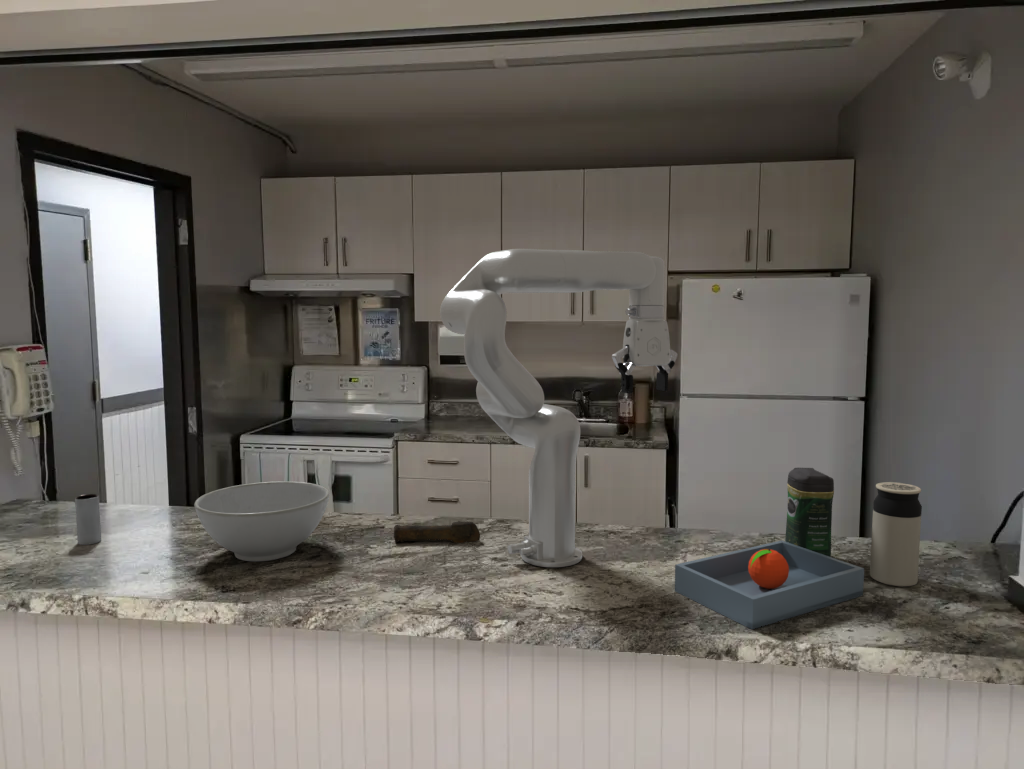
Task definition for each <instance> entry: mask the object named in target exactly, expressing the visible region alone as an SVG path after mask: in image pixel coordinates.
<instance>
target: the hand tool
mask: <svg viewBox="0 0 1024 769" xmlns="http://www.w3.org/2000/svg"><path fill="white" fill-rule="evenodd" d="M393 540H394V543H396V544H397V543H398V542H400V543H404V542H411V541H413V542H415V541H417V542H418V541H422V542H423V541H425V542H426V541H450V542H452V543H453V544H462V543H463V544H464V543H473V542H479V541H480V540H481V533H480V530H479V528H478V526H477V524H476V523H474V522H472V521H459V520H458V521H454V522H451V524H448V525H445V524H444V525H399V524H395V525H394V527H393Z"/></svg>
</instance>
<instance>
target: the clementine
mask: <svg viewBox="0 0 1024 769" xmlns="http://www.w3.org/2000/svg"><path fill="white" fill-rule="evenodd" d="M748 570H749V574H750V576H751V578H752V580H753V581H754V582H755V583H756V584H758V585H759V586H761V587H763V588H767V589H774V588H777V587H779V586H781V585H782V584H783V583H784V582H785V581H786V580H787V578H788V574H789V566H788V563H787V561H786V559H785V558H784V557H783V556H782V555H781V554H780V553H778V552H777V551H775V550H771V549H762V550H760V551H758V552H756V553H755V554H754V555H753V556H752V557H751V559H750V561H749V565H748Z"/></svg>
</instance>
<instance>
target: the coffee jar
mask: <svg viewBox="0 0 1024 769" xmlns="http://www.w3.org/2000/svg"><path fill="white" fill-rule="evenodd" d="M834 481H835V480H834V478H833V477H831V476H829V475H827V474H825V473H823V472H821V471H819V470H816V469H815V468H813V467H794V468H793V469H791V470H790V471H789V472H788V477H787V482H786V484H787V485H786V486H787V487H786V488H787V506H786V507H787V510H786V522H785V524H786V525H785V526H786V527H785V536H784V537H785V538H784V541H785V542H788V543H791V544H794V545H797V546H800V547H802V548H805V549H808V550H811V551H814V552H817V553H820V554H823V555H826V556H829V557H832V522H833V502H834V501H833V500H834V495H835V482H834Z"/></svg>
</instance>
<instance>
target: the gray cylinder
mask: <svg viewBox="0 0 1024 769" xmlns="http://www.w3.org/2000/svg"><path fill="white" fill-rule="evenodd" d="M74 504H75V505H74V506H75V518H76V519H75V520H76V523H75V524H76V535H77V536H76V537H77V544H78V545H81V546H86V545H95V544H97V543H101V541H102V529H101V528H102V525H101V510H100V495H99V494H97V493H90V494H89V493H87V494H80V495H77V496H76V497H75V498H74Z"/></svg>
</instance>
